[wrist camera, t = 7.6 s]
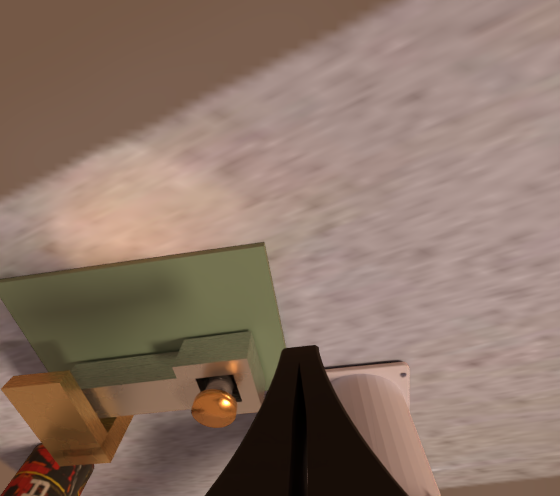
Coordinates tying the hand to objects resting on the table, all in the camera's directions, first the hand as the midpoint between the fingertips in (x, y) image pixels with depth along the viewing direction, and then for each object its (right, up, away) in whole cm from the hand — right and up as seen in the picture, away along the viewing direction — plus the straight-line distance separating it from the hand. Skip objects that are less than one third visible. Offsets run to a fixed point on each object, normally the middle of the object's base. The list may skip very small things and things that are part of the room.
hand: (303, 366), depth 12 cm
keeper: (-16, -5, +13) cm, 21 cm away
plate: (-10, -2, +12) cm, 16 cm away
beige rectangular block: (-9, -5, +12) cm, 16 cm away
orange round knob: (-5, -4, +12) cm, 13 cm away
